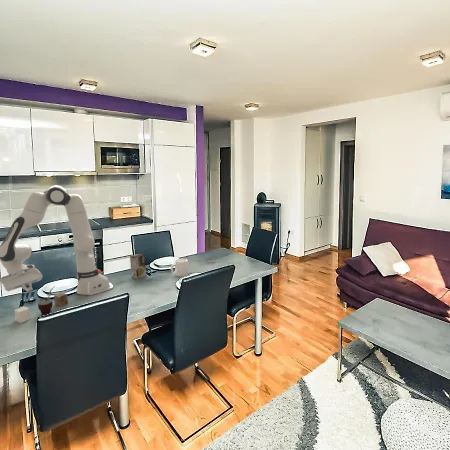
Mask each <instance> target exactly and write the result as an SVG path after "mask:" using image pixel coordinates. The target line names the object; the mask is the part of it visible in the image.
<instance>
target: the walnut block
mask: <svg viewBox="0 0 450 450" xmlns="http://www.w3.org/2000/svg"><path fill="white" fill-rule="evenodd" d="M53 299H54V306H57V307H62V306H65V305H67V304H69V301H68V294H67V293H64V292H60V293H59V292H58V293H57V294H53Z"/></svg>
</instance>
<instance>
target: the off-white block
mask: <svg viewBox="0 0 450 450" xmlns="http://www.w3.org/2000/svg"><path fill="white" fill-rule="evenodd" d="M14 317H15V321H16V322H18V323H24V322H26V321H28V320H31V311H30V307H27V306H22V307H19V308H15V309H14Z"/></svg>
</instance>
